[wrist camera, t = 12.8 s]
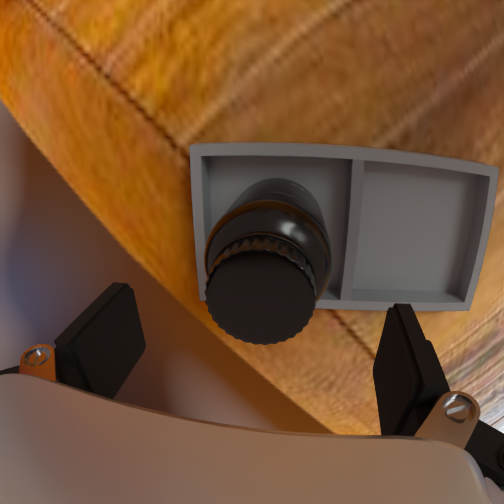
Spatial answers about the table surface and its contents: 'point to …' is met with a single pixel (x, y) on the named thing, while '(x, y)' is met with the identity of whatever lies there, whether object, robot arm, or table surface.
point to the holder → (366, 216)
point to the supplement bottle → (267, 262)
